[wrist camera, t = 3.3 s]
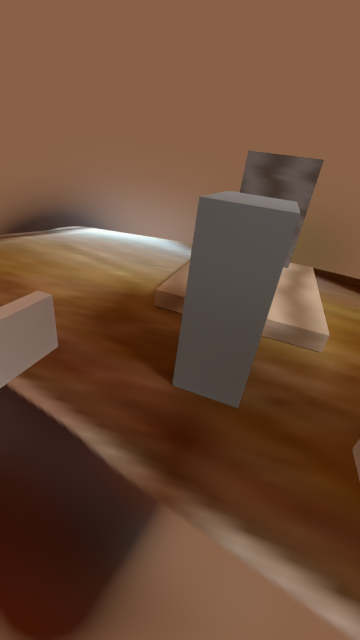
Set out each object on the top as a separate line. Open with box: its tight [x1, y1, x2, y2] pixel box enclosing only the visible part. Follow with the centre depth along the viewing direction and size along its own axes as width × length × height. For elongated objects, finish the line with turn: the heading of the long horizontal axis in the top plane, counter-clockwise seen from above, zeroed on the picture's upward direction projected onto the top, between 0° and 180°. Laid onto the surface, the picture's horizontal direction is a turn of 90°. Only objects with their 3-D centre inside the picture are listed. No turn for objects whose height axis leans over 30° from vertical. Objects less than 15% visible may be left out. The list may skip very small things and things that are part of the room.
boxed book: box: [172, 191, 300, 408], centre depth 20 cm, size 5×8×13 cm, turn 160°
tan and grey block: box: [154, 151, 330, 353], centre depth 35 cm, size 18×24×17 cm
